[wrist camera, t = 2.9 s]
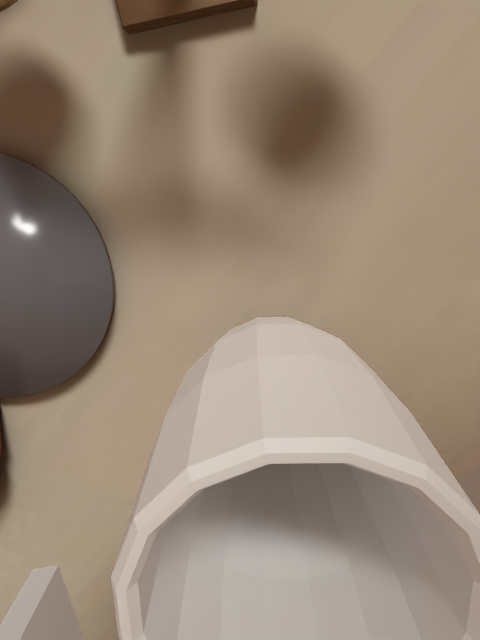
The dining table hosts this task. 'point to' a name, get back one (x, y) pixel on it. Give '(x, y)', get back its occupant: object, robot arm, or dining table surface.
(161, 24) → the balance
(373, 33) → the dining table surface
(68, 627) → the robot arm
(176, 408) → the cup
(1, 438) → the croissant
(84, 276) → the grey flat disc
